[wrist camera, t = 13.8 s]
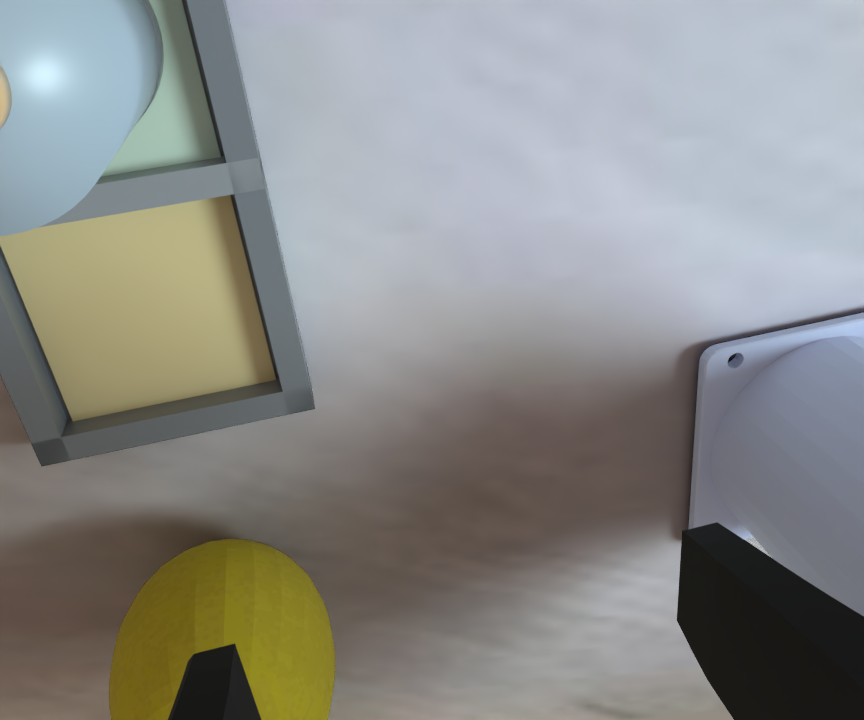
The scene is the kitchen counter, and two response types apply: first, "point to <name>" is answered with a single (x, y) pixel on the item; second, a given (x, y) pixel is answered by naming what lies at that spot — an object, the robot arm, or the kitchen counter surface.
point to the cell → (69, 98)
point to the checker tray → (158, 274)
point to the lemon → (226, 632)
